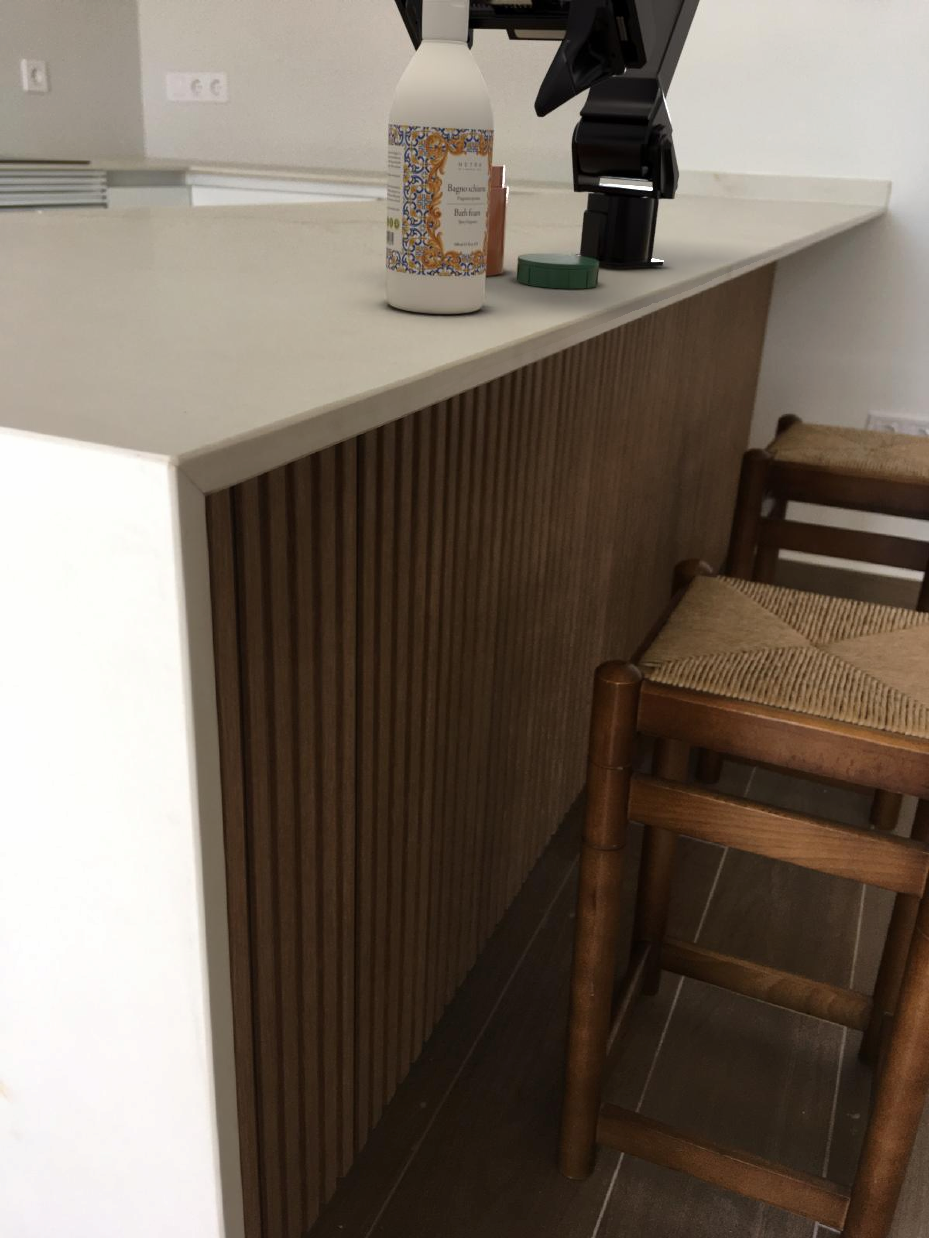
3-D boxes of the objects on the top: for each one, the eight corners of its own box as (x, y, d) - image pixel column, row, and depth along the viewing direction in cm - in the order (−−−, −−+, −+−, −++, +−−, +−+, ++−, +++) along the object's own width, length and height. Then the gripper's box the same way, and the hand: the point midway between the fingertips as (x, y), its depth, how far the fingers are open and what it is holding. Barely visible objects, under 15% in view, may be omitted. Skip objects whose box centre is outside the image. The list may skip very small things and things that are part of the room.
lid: (501, 277, 91) (503, 254, 90) (569, 276, 94) (571, 253, 93) (542, 290, 85) (544, 265, 85) (612, 288, 88) (615, 264, 88)
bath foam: (420, 318, 71) (431, -32, 63) (366, 301, 76) (370, -25, 68) (503, 312, 75) (524, -19, 66) (447, 296, 80) (460, -13, 71)
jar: (475, 264, 98) (480, 162, 94) (517, 274, 93) (525, 167, 89) (415, 267, 94) (419, 160, 90) (457, 277, 89) (462, 166, 86)
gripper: (410, -160, 75) (317, 5, 71) (663, -178, 67) (575, 7, 63) (460, -18, 85) (381, 135, 81) (687, -18, 77) (612, 151, 73)
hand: (478, 109), depth 74 cm, fingers open, 9 cm apart
